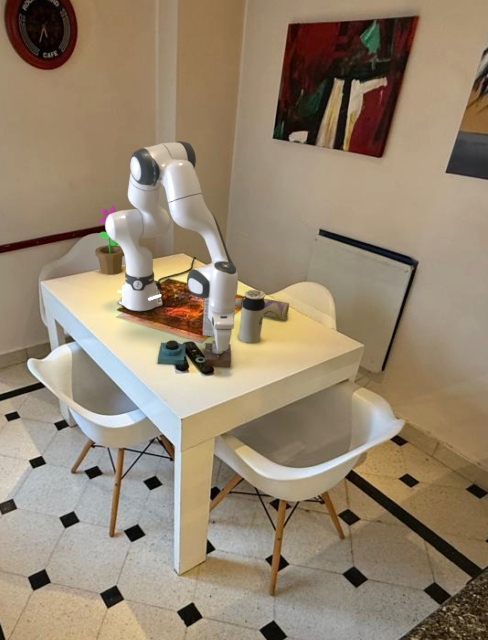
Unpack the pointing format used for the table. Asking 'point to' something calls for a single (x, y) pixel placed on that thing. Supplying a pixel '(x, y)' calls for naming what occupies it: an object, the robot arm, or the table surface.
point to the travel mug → (252, 316)
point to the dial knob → (215, 348)
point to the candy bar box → (207, 321)
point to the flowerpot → (109, 251)
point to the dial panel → (217, 357)
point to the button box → (171, 354)
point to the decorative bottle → (271, 308)
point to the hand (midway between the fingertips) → (218, 348)
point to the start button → (172, 345)
